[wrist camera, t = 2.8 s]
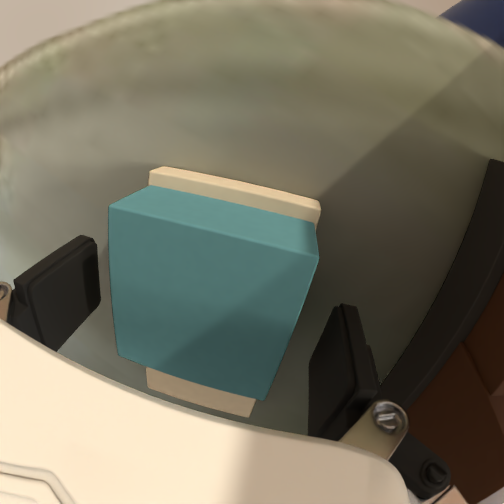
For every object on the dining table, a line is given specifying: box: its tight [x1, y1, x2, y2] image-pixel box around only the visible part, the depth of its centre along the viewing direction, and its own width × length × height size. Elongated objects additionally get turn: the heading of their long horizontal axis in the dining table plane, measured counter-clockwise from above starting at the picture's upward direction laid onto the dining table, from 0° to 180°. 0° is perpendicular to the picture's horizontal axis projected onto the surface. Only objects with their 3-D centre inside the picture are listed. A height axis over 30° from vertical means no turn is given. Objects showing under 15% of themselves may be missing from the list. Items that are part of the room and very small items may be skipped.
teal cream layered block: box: [108, 166, 321, 418], centre depth 11 cm, size 12×6×4 cm, turn 168°
